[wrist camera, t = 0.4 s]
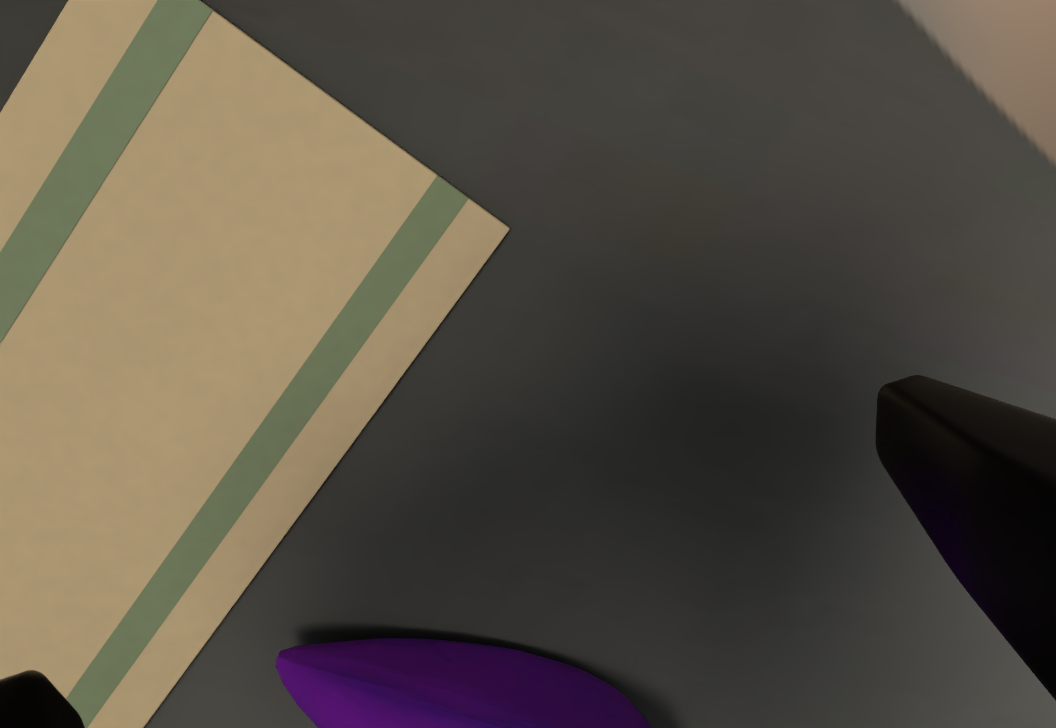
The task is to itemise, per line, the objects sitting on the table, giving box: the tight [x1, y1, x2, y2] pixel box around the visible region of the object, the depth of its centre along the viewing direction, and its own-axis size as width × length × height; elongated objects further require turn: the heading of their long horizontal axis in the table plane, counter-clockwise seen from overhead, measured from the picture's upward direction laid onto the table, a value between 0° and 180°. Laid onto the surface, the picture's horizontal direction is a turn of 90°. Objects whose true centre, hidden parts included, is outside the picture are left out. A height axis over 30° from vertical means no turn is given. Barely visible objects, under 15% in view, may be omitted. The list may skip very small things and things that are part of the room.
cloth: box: [0, 0, 509, 728], centre depth 22 cm, size 20×11×1 cm, turn 142°
